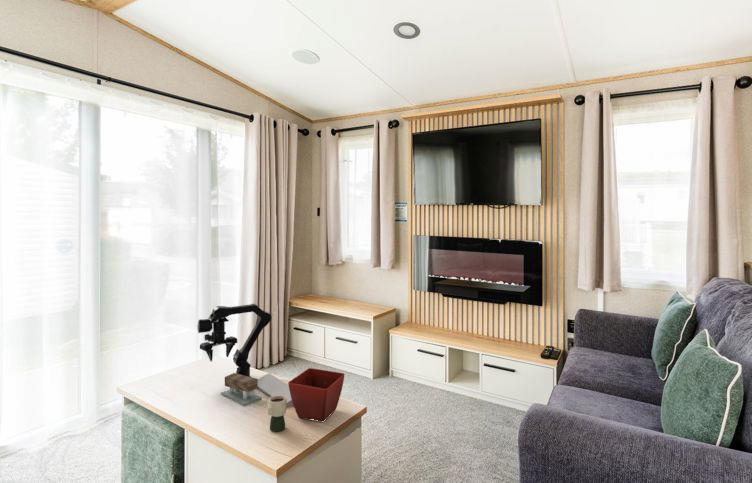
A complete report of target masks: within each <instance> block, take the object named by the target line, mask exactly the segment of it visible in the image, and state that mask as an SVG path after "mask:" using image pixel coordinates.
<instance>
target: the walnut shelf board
mask: <svg viewBox="0 0 752 483" xmlns="http://www.w3.org/2000/svg"><path fill="white" fill-rule="evenodd" d="M258 379H259V378H255V377H252V376H251V377H248V376H244V375H240V374H236V372H233V373H231V374H228V375H226V376H224V386H225V387H227V388H229V387H230V388H234V389H238V390H242V391H245V392H251V391H253V392H254V391H255V390H257V389H259V388H258Z"/></svg>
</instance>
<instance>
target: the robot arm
mask: <svg viewBox="0 0 752 483" xmlns="http://www.w3.org/2000/svg"><path fill="white" fill-rule="evenodd" d="M211 311H212V312H211V313H210V315H209V316H208V318H205V319H202V318H200V319H198V321H197V325H196V326H197V327H196V328H197V332H198V334H202V333H203V334H204V333H207V334H204V341H206V342H202V343H201V342H200V344H199V350H202V351H204V352H205V353H206V355H207V357H208V359H209V362H213V356H214V349H213V348H214V347H217V346H221V345H224V344H225V355H226V356H225V357H226V358H229V356H230V354H231V351H232V350H233V348H234V346H236V344H238V338H237V337H235V336H225V335H226V334H227V332H226V330H225V329H226V326H225V325H226V324H225V323H226V322H229V319H228V317H229V316H231V315H240V314H244V313H245V314H247V313H254V314H255V315H256V316H257V318H256V321H255V325H254V327H253V328H252V330H251V331H250V334H249V336H248V337H247V339H246V340H245V342H244V343H243V345H242V347H241V348H240V349H236V350H235V352H234V354H233V355H232V356H233V358H232V360H233V362H234V364H235V365H236V372H235V373H236V374H240V375H244V376H248V377H252V376H251V364H250V362H249V361H248V359H249V354H250V352H251V349H252V348H253V346H254V345H255V343H256V341H257V339H258V337H259V336H260V334H261V333H262V331H263V330H264V328H266V327H267V325H269V324H270V322H271V321H272V314H271V313H270V312H268V311H266V310H263V309H261V308H260V307H259V306H258V305H257V304H255V303H251V304H243V305H242V304H241V305H236V306H224V305H216V306H214V308H213V309H212V310H211ZM211 331H212V332H211ZM208 332H211V334H210V333H208ZM210 342H211V343H210Z"/></svg>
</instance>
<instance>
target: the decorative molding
mask: <svg viewBox="0 0 752 483" xmlns="http://www.w3.org/2000/svg"><path fill="white" fill-rule="evenodd" d="M257 379H258V388H257V389H259V390H260V391H261V392H263V393H265V394H266V395H268V396H269V398H270V397H272V396H276V395H283V396H285V397H286V399H287V405H286V408H288V407H291V406H294V405H293V402H292V398H291V395H290V390H289V384H288V383H286V382H285V381H284V380H281V379H280V378H278V377H276V376H275V375H273V374H272V373H270V372H268V373H266V374H265V375H263V376H261V377H259V378H257Z"/></svg>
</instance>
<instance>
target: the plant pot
mask: <svg viewBox="0 0 752 483" xmlns="http://www.w3.org/2000/svg"><path fill="white" fill-rule="evenodd" d="M344 381H345V373H344V372H339V371H332V370H326V369H324V370H323V369H318V368H312V367H309V368H307V369H305V370H304V371H302V372H301V373H299V374H298V375H297V376H295V377H294V378H292V379H291V380H289V381H288V383H287V384H288V385H289V390H290V395H291V398H292V402H293V405H292V406H293V408H294V410H295V412H296V415H297V418H299V417H300V418H299V419H303V418H307V419H314V420H318V421H324V420H325V419H326V418H327V417H328V416H329V415H330V414H331V413H332V412H333V411H334V410H335V409H336V410H337V408H338V404H339V401H340V397H341V394H342V390H343V386H344V385H343V384H344ZM336 410H335V411H336ZM335 411H334V412H335ZM334 412H333V413H334ZM333 413H332V414H333ZM332 414H331V415H332ZM331 415H330V416H331ZM330 416H329V417H330ZM329 417H328V418H329ZM328 418H327V419H328ZM307 419H306V420H307ZM327 419H326V420H327ZM326 420H325V421H326ZM325 421H324V422H325Z"/></svg>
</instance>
